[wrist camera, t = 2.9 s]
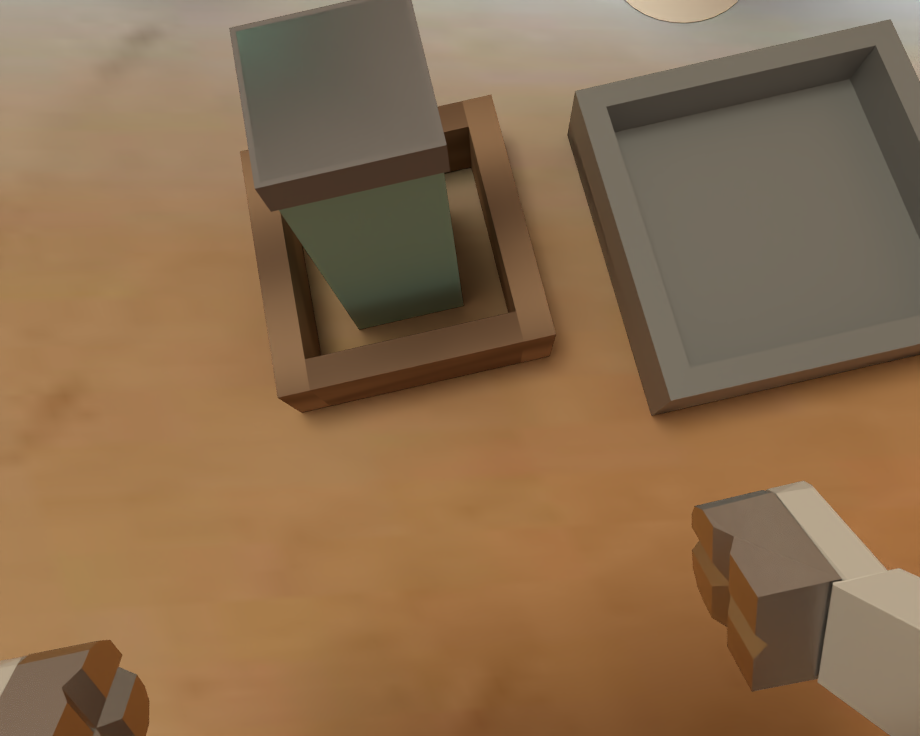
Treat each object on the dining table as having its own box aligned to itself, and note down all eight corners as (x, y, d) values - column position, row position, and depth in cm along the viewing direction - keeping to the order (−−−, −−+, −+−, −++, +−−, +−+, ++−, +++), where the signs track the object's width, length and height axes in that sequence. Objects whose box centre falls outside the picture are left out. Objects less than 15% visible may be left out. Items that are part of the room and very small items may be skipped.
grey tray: (971, 342, 26) (1030, 318, 23) (651, 415, 26) (671, 400, 23) (851, 70, 29) (890, 19, 27) (567, 134, 29) (575, 90, 27)
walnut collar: (549, 356, 27) (556, 334, 24) (301, 412, 27) (277, 397, 24) (491, 137, 30) (491, 94, 27) (265, 189, 30) (240, 151, 27)
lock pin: (467, 308, 28) (446, 145, 16) (356, 333, 28) (254, 188, 16) (444, 207, 29) (408, -13, 17) (337, 231, 29) (229, 28, 17)
